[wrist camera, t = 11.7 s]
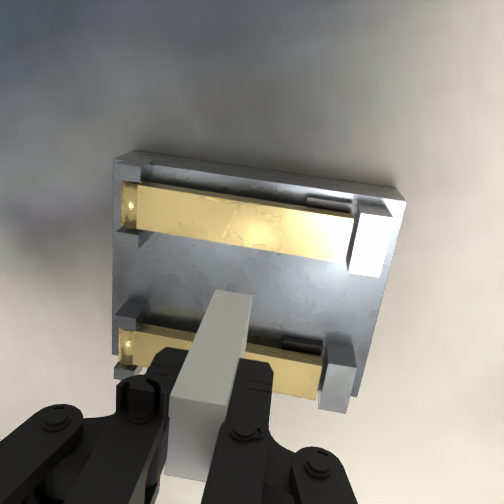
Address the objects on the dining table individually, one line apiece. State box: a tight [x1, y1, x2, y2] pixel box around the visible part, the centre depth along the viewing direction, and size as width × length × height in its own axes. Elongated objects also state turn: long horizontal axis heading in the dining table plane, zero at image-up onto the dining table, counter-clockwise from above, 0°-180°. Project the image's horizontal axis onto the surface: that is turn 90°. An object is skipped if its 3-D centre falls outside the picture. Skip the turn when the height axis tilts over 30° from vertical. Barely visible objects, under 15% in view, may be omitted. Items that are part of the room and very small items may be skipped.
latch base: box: [112, 151, 407, 414], centre depth 34 cm, size 20×17×7 cm
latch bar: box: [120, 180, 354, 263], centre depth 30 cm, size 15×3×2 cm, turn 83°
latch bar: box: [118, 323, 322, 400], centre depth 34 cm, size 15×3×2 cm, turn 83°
